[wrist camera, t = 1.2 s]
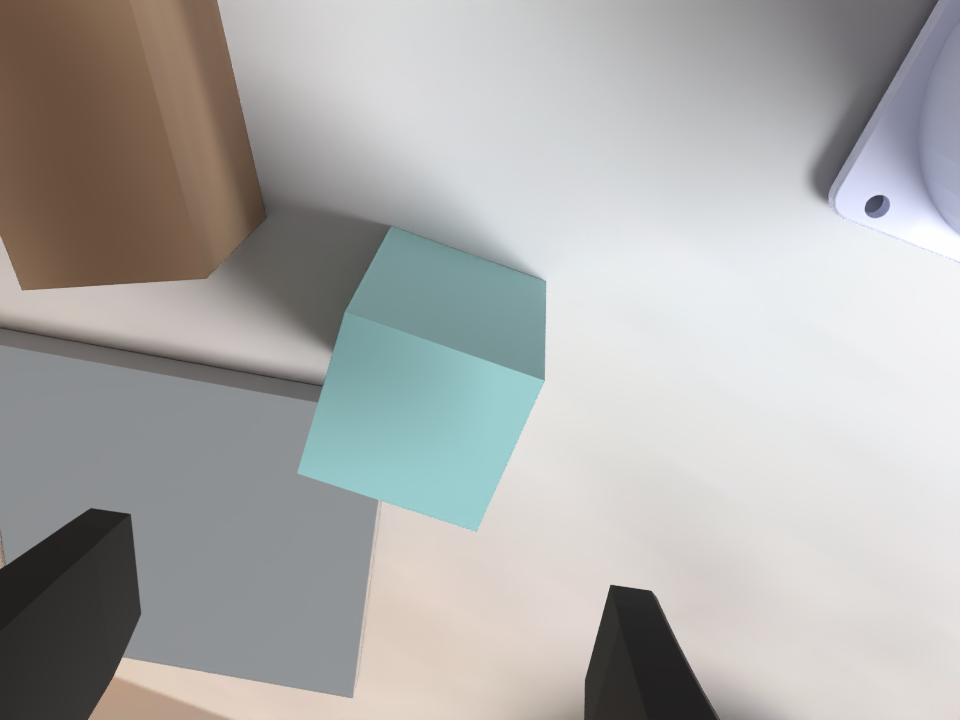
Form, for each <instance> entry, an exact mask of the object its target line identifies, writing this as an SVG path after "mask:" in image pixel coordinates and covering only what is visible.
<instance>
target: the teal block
mask: <svg viewBox="0 0 960 720" xmlns="http://www.w3.org/2000/svg"><path fill="white" fill-rule="evenodd" d="M545 324H546V281H544V280H541V279H538V278H535V277H532V276H530V275H527V274H524V273H521V272H518V271H516V270H513V269H510V268H507V267H505V266H502V265H499V264H496V263H493V262H491V261H488V260H485V259H482V258H479V257H477V256H474V255H471V254H468V253H465V252H463V251H460V250H457V249H454V248H451V247H449V246H446V245H443V244H440V243H437V242H435V241H432V240H429V239H426V238H423V237H421V236H418V235H415V234H412V233H410V232H407V231H404V230H401V229H398V228H396V227H393V226H391V227H390V228H389V230H388V232H387V234H386V236H385V238H384V240H383V242H382V243H381V245H380V247H379V249H378V251H377V253H376V255H375V256H374V258H373V260H372V262H371V264H370V266H369V268H368V270H367V271H366V273H365V275H364V277H363V279H362V281H361V283H360V284H359V286H358V288H357V290H356V292H355V294H354V296H353V298H352V299H351V301H350V303H349V305H348V307H347V309H346V311H345V313H344V316H343V320H342V323H341V327H340V330H339V333H338V337H337V340H336V343H335V347H334V350H333V354H332V357H331V360H330V364H329V367H328V371H327V374H326V377H325V381H324V384H323V387H322V391H321V394H320V398H319V401H318V404H317V408H316V411H315V415H314V418H313V421H312V425H311V428H310V431H309V435H308V438H307V442H306V445H305V448H304V452H303V455H302V459H301V462H300V465H299V469H298V472H297V474H300V475H303V476H306V477H310V478H313V479H316V480H319V481H322V482H325V483H328V484H331V485H334V486H337V487H340V488H343V489H346V490H350V491H353V492H356V493H359V494H362V495H365V496H368V497H371V498H374V499H377V500H380V501H383V502H386V503H390V504H393V505H396V506H399V507H402V508H405V509H408V510H411V511H414V512H417V513H420V514H423V515H427V516H430V517H433V518H436V519H439V520H442V521H445V522H448V523H451V524H454V525H457V526H460V527H463V528H467V529H470V530H473V531H476V532H477V529H478V527H479V525H480V523H481V521H482V518H483V516H484V514H485V512H486V510H487V507H488V505H489V503H490V501H491V498H492V496H493V494H494V492H495V490H496V487H497V485H498V483H499V481H500V479H501V476H502V474H503V472H504V470H505V467H506V465H507V463H508V461H509V459H510V456H511V454H512V452H513V450H514V448H515V445H516V443H517V441H518V439H519V436H520V434H521V432H522V430H523V428H524V425H525V423H526V421H527V419H528V417H529V414H530V412H531V410H532V408H533V405H534V403H535V401H536V399H537V397H538V394H539V392H540V390H541V388H542V385H543V383H544V381H545Z"/></svg>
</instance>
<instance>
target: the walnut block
mask: <svg viewBox="0 0 960 720" xmlns="http://www.w3.org/2000/svg"><path fill="white" fill-rule="evenodd" d="M265 219H266V213H265V209H264V204H263V200H262V196H261V191H260V187H259V183H258V178H257V174H256V169H255V165H254V161H253V156H252V152H251V147H250V143H249V139H248V134H247V130H246V126H245V121H244V117H243V112H242V108H241V104H240V99H239V95H238V91H237V86H236V82H235V77H234V73H233V69H232V64H231V60H230V55H229V51H228V47H227V42H226V38H225V34H224V29H223V25H222V20H221V16H220V12H219V7H218V3H217V0H0V235H1V237H2V240H3V243H4V245H5V248H6V250H7V253H8V255H9V258H10V260H11V263H12V266H13V268H14V271H15V273H16V276H17V278H18V281H19V284H20V286H21V289H22V290H36V289H52V288H68V287H83V286H99V285H114V284H130V283H145V282H161V281H177V280H192V279H207V278H208V277H209V275H210V274H211V273H212V272H213V271H214V270H215V269H216V268H217V267H218V266H219V265H220V264H221V263H222V262H223V261H224V260H225V259H226V258H227V257H228V256H229V255H230V254H231V253H232V252H233V251H234V250H235V249H236V248H237V247H238V246H239V245H240V244H241V243H242V242H243V241H244V240H245V239H246V238H247V237H248V236H249V235H250V234H251V233H252V232H253V231H254V230H255V229H256V228H257V227H258V226H259V225H260V224H261V223H262V222H263V221H264V220H265Z"/></svg>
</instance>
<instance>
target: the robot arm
mask: <svg viewBox="0 0 960 720" xmlns="http://www.w3.org/2000/svg"><path fill="white" fill-rule="evenodd" d="M876 195H883V198H884V201H883V204H882V206H881V207H880V208H879V209H878V210H877V211H874V212H872V213H867V212H865V209H864V208H865V205H866V202H867V201H868V200H869V199H870V198H871V197H873V196H876ZM828 198H829V204H830V206H831V208H832V210H833V211H834V212H835V213H836V214H837V215H839V216H840V217H842V218H843V219H846V220H848V221H851V222H854V223H856V224H859V225H862V226H864V227H867V228H869V229H872V230H875V231H877V232H880V233H883V234H885V235H888V236H891V237H893V238H896V239H898V240H901V241H904V242H906V243H909V244H912V245H914V246H917V247H920V248H922V249H925V250H927V251H930V252H933V253H935V254H938V255H941V256H943V257H946V258H949V259H951V260H954V261H956V262H959V263H960V0H939V1H938V2H937V4H936V6H935V7H934V9H933V11H932V13H931V14H930V16H929V18H928V20H927V21H926V23H925V25H924V27H923V28H922V30H921V32H920V33H919V35H918V37H917V39H916V40H915V42H914V44H913V46H912V47H911V49H910V51H909V53H908V54H907V56H906V58H905V60H904V61H903V63H902V65H901V66H900V68H899V70H898V72H897V73H896V75H895V77H894V79H893V80H892V82H891V84H890V86H889V87H888V89H887V91H886V92H885V94H884V96H883V98H882V99H881V101H880V103H879V105H878V106H877V108H876V110H875V112H874V113H873V115H872V117H871V118H870V120H869V122H868V124H867V125H866V127H865V129H864V131H863V132H862V134H861V136H860V138H859V139H858V141H857V143H856V144H855V146H854V148H853V150H852V151H851V153H850V155H849V157H848V158H847V160H846V162H845V164H844V165H843V167H842V169H841V171H840V172H839V174H838V176H837V177H836V179H835V181H834V183H833V184H832V186H831V189H830V192H829V194H828ZM140 616H141V606H140V596H139V587H138V577H137V568H136V558H135V548H134V539H133V529H132V520H131V514H128V513H121V512H115V511H108V510H101V509H94V508H90V509H89V510H87V511H85V512H84V513H82V514H81V515H79V516H78V517H76V518H75V519H73V520H72V521H70V522H69V523H67V524H66V525H64V526H63V527H62V528H60V529H59V530H57V531H56V532H54V533H53V534H51V535H50V536H48V537H47V538H46V539H44V540H43V541H41V542H40V543H38V544H37V545H35V546H34V547H32V548H31V549H29V550H28V551H27V552H25V553H24V554H22V555H21V556H19V557H18V558H16V559H15V560H13V561H12V562H10V563H9V564H7V565H6V566H4V567H3V568H1V569H0V720H88V718H89V717H90V715H91V713H92V712H93V710H94V708H95V707H96V705H97V703H98V702H99V700H100V698H101V697H102V695H103V693H104V692H105V690H106V688H107V687H108V685H109V683H110V681H111V680H112V678H113V676H114V674H115V672H116V670H117V667H118V665H119V663H120V661H121V659H122V657H123V655H124V652H125V650H126V648H127V646H128V644H129V641H130V639H131V637H132V634H133V632H134V630H135V627H136V625H137V623H138V621H139V618H140ZM584 720H720V719H719V717H718V716H717V714H716V712H715V710H714V709H713V707H712V705H711V703H710V702H709V700H708V698H707V696H706V695H705V693H704V691H703V689H702V688H701V686H700V684H699V682H698V680H697V678H696V676H695V675H694V673H693V671H692V669H691V667H690V665H689V663H688V661H687V659H686V657H685V655H684V653H683V651H682V650H681V648H680V646H679V644H678V642H677V640H676V638H675V635H674V633H673V631H672V629H671V627H670V625H669V623H668V621H667V619H666V617H665V615H664V612H663V610H662V608H661V606H660V604H659V601H658V599H657V597H656V596H655V595H654V593H653V592H652V591H649V590H642V589H635V588H629V587H622V586H615V585H610V589H609V592H608V596H607V600H606V604H605V607H604V611H603V615H602V619H601V622H600V626H599V630H598V634H597V637H596V641H595V645H594V649H593V652H592V656H591V660H590V664H589V667H588V671H587V675H586V679H585V711H584Z"/></svg>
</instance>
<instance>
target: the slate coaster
mask: <svg viewBox="0 0 960 720" xmlns="http://www.w3.org/2000/svg"><path fill="white" fill-rule="evenodd" d="M321 391H322V387H321V386H315V385H310V384H304V383H299V382H293V381H288V380H282V379H277V378H271V377H266V376H260V375H255V374H249V373H244V372H238V371H233V370H227V369H222V368H216V367H211V366H205V365H200V364H194V363H189V362H183V361H178V360H172V359H167V358H161V357H156V356H150V355H145V354H139V353H133V352H128V351H122V350H117V349H111V348H106V347H100V346H95V345H89V344H84V343H78V342H73V341H67V340H62V339H56V338H51V337H45V336H40V335H34V334H29V333H23V332H18V331H12V330H7V329H1V328H0V531H1V537H2V544H3V550H4V557H5V563H6V565H7V564H9V563H10V562H12V561H13V560H15V559H16V558H18V557H19V556H21V555H22V554H24V553H25V552H27V551H28V550H29V549H31V548H32V547H34V546H35V545H37V544H38V543H40V542H41V541H43V540H44V539H46V538H47V537H48V536H50V535H51V534H53V533H54V532H56V531H57V530H59V529H60V528H62V527H63V526H64V525H66V524H67V523H69V522H70V521H72V520H73V519H75V518H76V517H78V516H79V515H81V514H82V513H84V512H85V511H87V510H89V509H90V508H94V509H101V510H108V511H115V512H121V513H128V514H131V520H132V529H133V539H134V548H135V558H136V568H137V577H138V587H139V596H140V606H141V616H140V618H139V621H138V623H137V625H136V627H135V630H134V632H133V634H132V637H131V639H130V641H129V644H128V646H127V648H126V650H125V652H124V655H123V657H124V658H130V659H136V660H141V661H147V662H152V663H158V664H164V665H169V666H175V667H180V668H186V669H192V670H197V671H203V672H208V673H214V674H219V675H225V676H231V677H236V678H242V679H247V680H253V681H259V682H264V683H270V684H275V685H281V686H287V687H292V688H298V689H303V690H309V691H315V692H320V693H326V694H331V695H337V696H343V697H348V698H353V695H354V691H355V687H356V684H357V680H358V674H359V666H360V658H361V651H362V643H363V636H364V628H365V620H366V613H367V605H368V598H369V590H370V582H371V575H372V567H373V560H374V552H375V544H376V537H377V529H378V522H379V514H380V506H381V501H380V500H377V499H374V498H371V497H368V496H365V495H362V494H359V493H356V492H353V491H350V490H346V489H343V488H340V487H337V486H334V485H331V484H328V483H325V482H322V481H319V480H316V479H313V478H310V477H306V476H303V475H300V474H297V472H298V469H299V465H300V462H301V459H302V455H303V452H304V448H305V445H306V442H307V438H308V435H309V431H310V428H311V425H312V421H313V418H314V415H315V411H316V408H317V404H318V401H319V398H320V394H321Z"/></svg>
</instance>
